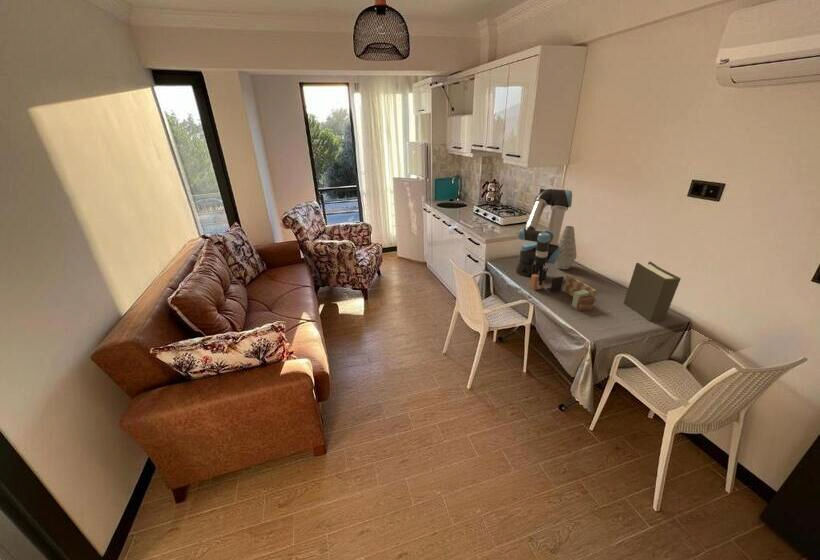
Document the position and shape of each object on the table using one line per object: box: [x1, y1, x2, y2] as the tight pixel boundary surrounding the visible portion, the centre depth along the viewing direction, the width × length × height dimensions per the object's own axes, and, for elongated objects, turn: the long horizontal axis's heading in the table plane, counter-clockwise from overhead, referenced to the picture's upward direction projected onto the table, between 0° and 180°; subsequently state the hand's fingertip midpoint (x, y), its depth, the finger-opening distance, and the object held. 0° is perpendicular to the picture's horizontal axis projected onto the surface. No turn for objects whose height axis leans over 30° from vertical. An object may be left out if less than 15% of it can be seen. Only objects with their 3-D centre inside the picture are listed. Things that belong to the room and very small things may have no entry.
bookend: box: [546, 276, 564, 293], centre depth 222 cm, size 5×8×10 cm, turn 107°
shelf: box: [563, 274, 597, 312], centre depth 208 cm, size 25×11×12 cm, turn 17°
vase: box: [554, 225, 578, 270], centre depth 250 cm, size 17×17×33 cm
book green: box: [571, 290, 590, 309], centre depth 202 cm, size 4×8×10 cm, turn 107°
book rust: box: [529, 273, 545, 291], centre depth 226 cm, size 4×8×10 cm, turn 107°
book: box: [623, 261, 682, 323], centre depth 189 cm, size 22×9×28 cm, turn 8°
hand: (536, 287), depth 228 cm, fingers closed on book rust, 4 cm apart
